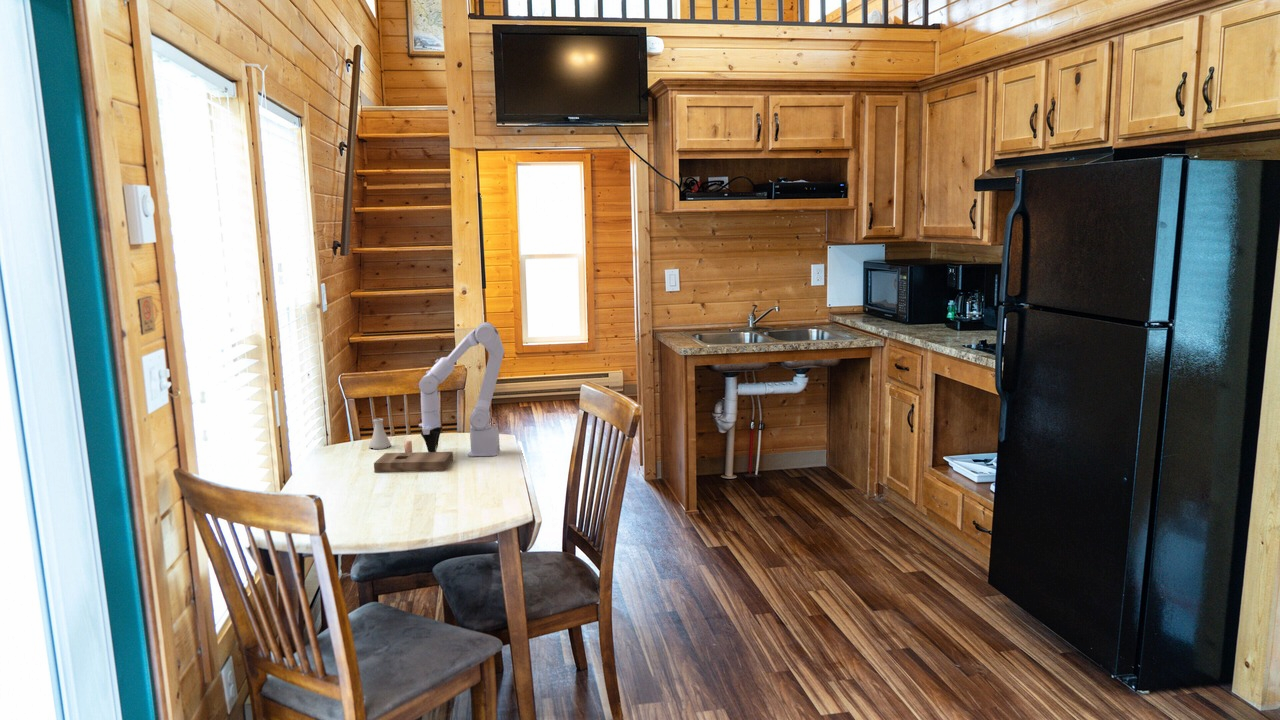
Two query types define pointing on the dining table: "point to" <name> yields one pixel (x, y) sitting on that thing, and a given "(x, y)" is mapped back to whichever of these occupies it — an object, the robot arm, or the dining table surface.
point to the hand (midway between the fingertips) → (432, 450)
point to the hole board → (413, 461)
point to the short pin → (408, 446)
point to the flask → (379, 436)
